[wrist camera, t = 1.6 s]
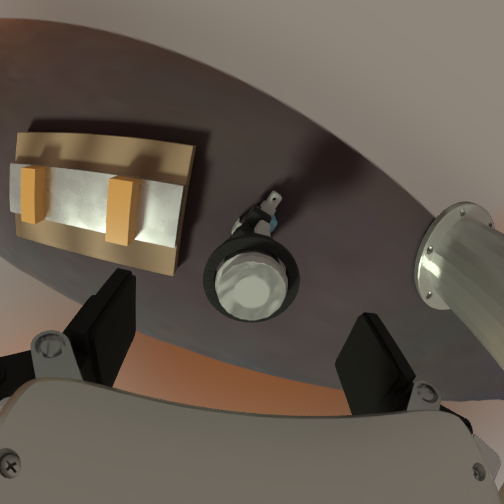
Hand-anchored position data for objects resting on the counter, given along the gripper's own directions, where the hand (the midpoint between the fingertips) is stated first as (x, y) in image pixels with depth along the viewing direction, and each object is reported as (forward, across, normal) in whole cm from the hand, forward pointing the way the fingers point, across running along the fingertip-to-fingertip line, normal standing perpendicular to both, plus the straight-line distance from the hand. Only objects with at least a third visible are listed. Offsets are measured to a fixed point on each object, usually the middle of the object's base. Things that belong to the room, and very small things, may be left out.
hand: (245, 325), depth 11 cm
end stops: (+12, +15, 0) cm, 19 cm away
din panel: (+14, +14, 0) cm, 20 cm away
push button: (+14, -1, 0) cm, 14 cm away
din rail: (+13, +15, 0) cm, 19 cm away
